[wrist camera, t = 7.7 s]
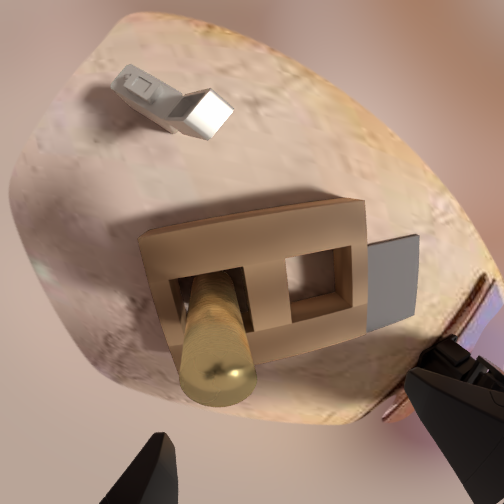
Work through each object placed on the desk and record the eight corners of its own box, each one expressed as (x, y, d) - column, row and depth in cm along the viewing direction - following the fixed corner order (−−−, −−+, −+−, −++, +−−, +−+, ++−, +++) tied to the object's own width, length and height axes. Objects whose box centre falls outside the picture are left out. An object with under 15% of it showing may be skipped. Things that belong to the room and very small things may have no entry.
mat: (412, 313, 23) (414, 315, 23) (353, 335, 22) (354, 336, 22) (417, 234, 21) (419, 235, 20) (353, 248, 20) (354, 249, 20)
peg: (236, 303, 20) (261, 400, 10) (196, 310, 19) (191, 411, 10) (229, 264, 19) (250, 344, 9) (187, 272, 19) (169, 357, 9)
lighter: (129, 106, 15) (82, 62, 7) (144, 86, 15) (108, 32, 7) (209, 159, 17) (209, 138, 9) (225, 138, 17) (237, 104, 9)
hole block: (348, 317, 22) (366, 334, 19) (182, 353, 20) (179, 377, 17) (343, 197, 19) (364, 200, 16) (148, 230, 17) (137, 238, 15)
